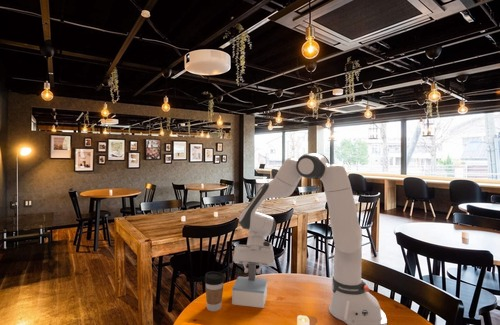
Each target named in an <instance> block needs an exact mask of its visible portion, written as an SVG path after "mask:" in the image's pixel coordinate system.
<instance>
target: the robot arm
mask: <svg viewBox="0 0 500 325" xmlns="http://www.w3.org/2000/svg"><path fill="white" fill-rule="evenodd" d="M302 178H306V179H308V180H309V179H311V180H320V181H321V182H322V184H323V190H324V194H325V199H326V203H327V207H328V212H329V214H328V215H329V221H330V227H331V233H332V240H333V243H334V255H333V276H332V279H331V283H332V284H331V290H332V297H331V300H330V301H331V302H330V304H329V307H328V311H329V313H330V314H331V315H332V316H333V317H335V318H336V319H338V320H340V321H342V322H343V323H345V324H347V325H388V319H387V316H386V313H385V312H384V311H383V310H382V309H381V306H380V303H379V301H378V300H377V298H376V297H375V296H374V295H372V294H371V293H370V292H369V291H370V289H371V288H370V287H369V286H368V284H367V283H366V282H365V281H364V280H363V279H362V253H363V252H362V250H363V248H362V246H363V245H362V244H363V243H362V242H363V230H362V227H361V225H360V222H359V218H358V211H357V208H356V202H355V198H354V193H353V189H352V186H351V182H350V178H349V176H348V174H347V170H346V169H345V167H344V165H341V164H338V163H332V164H330V160H329V159H328V157H326V156H325V154H323V153H316V152H310V153H305V154H303V155H301V156H300V157H299V158H298V159H297V158H296V157H289V158H286V160H284V162H282V164H281V166H280V168H279V169H278V171H277V173H276V175H275V176H274V178H273V179H271V180H270V181H269V182H266V183H263V185H262V186H261V187H260V188H259V189H258V191H256V194H255V195H254V196H253V198H252V199H251V201H250V202H248V205H247V206H246V207H245V208H244V209H243V211H242V212H241V213H240V215H239V217H238V218H239V219H238V223H239V225H240V227H241V228H242V229H244V230H248V237H247V242H246V244H237V245H235V246H234V251H233V252H234V253H233V256H232V261H233V262H234V263H235V264H240V265H243V267H244V273H245V274H248V273H249V267H247V266H248V265H249V264H256V266H259V267H258V268H256V271H255V275H260V273H261V270H262V269H263V266H266V267H274V265H275V255H274V247H273V244H272V243H271V242H269V241H266V240H265V238H266V237H269V236H271V235H272V234H274V232H275V230H276V220H275V218H274V217H272V216H271V215H268V214H266V213H264V212H263V213H261V212H259V211H257V210H258V208H259V207H260V206H261V204H262V203H264V201H265V200H268V199H272V198H273V199H275V198H277V199H279V198H280V199H283V198H287V197H290V196H291V195H292V194H293V193H294V191H295V190H296V188H297V187H298V184H299V183H300V181H301V179H302Z"/></svg>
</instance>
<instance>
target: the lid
mask: <svg viewBox="0 0 500 325" xmlns="http://www.w3.org/2000/svg"><path fill="white" fill-rule="evenodd" d="M256 266H257V265H256V264H248V273H247V274H248V276H239V275H238V277H237V278H236V280H235V282H234V284H233V286H232V288H231V289H232V290H235V291H245V292H254V293H264V291H265V287H266V283H267V284H268V279H267V278H259V277H258V278H256V269H257V268H256ZM232 290H231V291H232Z"/></svg>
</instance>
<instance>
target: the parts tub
mask: <svg viewBox="0 0 500 325" xmlns="http://www.w3.org/2000/svg"><path fill="white" fill-rule="evenodd" d="M231 293H232V294H231V296H232V297H231V304H232V305H237V306H245V307H254V308H263V309H264V308H265V304H266V299H267V297H268V296H267V295H268V282H267V283H266V287H265V291H264V293H254V292H245V291H235V290H231Z"/></svg>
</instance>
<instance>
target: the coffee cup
mask: <svg viewBox="0 0 500 325" xmlns="http://www.w3.org/2000/svg"><path fill="white" fill-rule="evenodd" d="M224 282H225V276H224V274H223V273H222V272H220V271H208V272H206V273H205V277H204V283H205V297H206V309H207V310H208V311H210V312H218V311H219V310H221V308H222V302H223V301H222V300H223V294H224V293H223V292H224Z"/></svg>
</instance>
